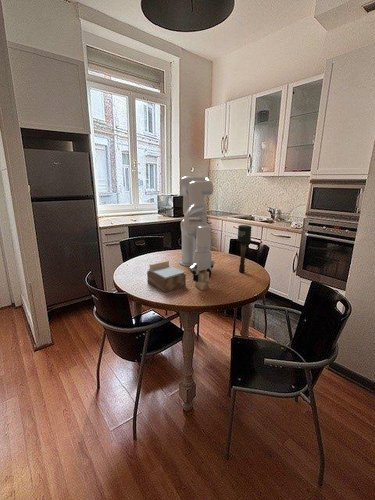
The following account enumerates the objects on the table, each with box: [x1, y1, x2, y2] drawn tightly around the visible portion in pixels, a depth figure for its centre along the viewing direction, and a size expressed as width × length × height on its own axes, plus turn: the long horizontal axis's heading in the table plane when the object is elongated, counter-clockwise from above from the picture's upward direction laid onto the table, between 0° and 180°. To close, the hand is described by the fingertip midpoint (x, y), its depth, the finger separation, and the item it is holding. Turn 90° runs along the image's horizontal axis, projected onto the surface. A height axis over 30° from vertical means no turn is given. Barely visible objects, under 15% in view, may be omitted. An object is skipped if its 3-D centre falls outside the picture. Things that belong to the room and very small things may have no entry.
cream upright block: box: [195, 269, 210, 291], centre depth 137 cm, size 5×5×10 cm
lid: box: [147, 259, 185, 279], centre depth 139 cm, size 13×16×4 cm
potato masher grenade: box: [236, 224, 253, 274], centre depth 157 cm, size 8×9×30 cm
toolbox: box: [146, 270, 187, 294], centre depth 140 cm, size 14×17×7 cm
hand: (202, 279), depth 137 cm, fingers open, 9 cm apart
